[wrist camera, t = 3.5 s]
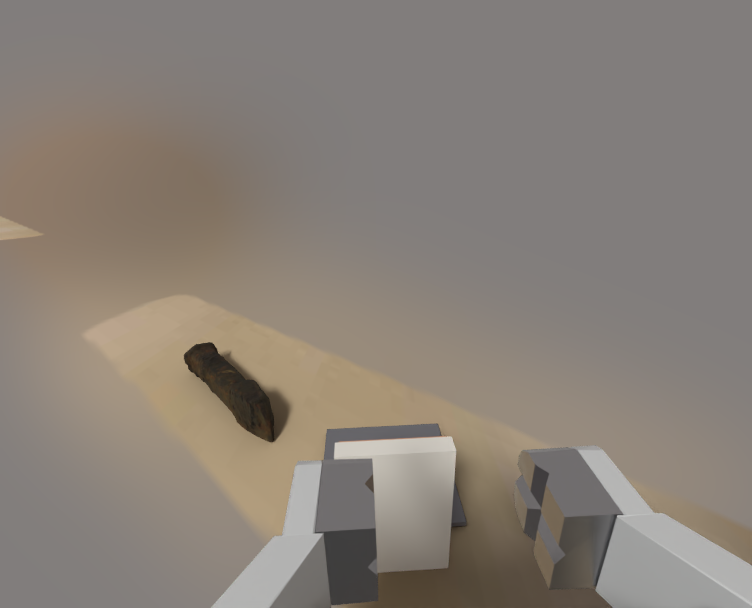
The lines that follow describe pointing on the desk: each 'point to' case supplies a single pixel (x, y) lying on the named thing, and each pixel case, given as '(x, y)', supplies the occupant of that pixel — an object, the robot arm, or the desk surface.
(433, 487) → the tile
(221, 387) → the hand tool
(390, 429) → the mat
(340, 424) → the desk surface
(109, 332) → the desk surface
